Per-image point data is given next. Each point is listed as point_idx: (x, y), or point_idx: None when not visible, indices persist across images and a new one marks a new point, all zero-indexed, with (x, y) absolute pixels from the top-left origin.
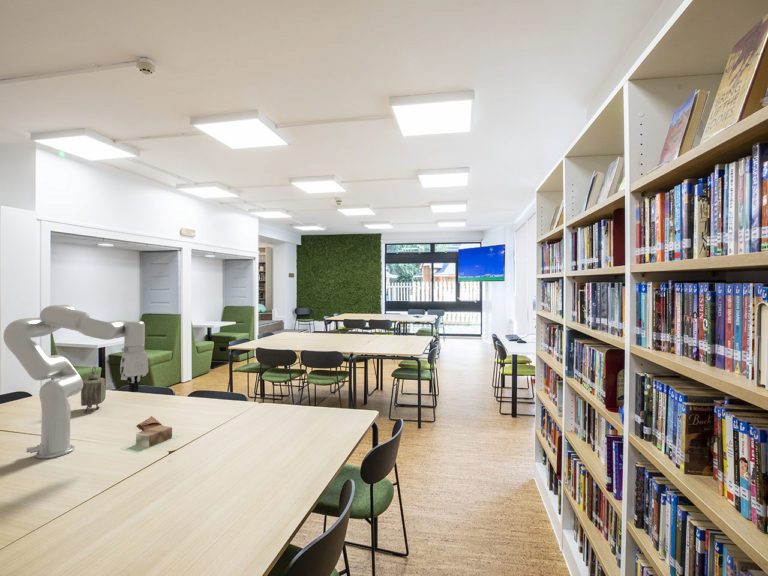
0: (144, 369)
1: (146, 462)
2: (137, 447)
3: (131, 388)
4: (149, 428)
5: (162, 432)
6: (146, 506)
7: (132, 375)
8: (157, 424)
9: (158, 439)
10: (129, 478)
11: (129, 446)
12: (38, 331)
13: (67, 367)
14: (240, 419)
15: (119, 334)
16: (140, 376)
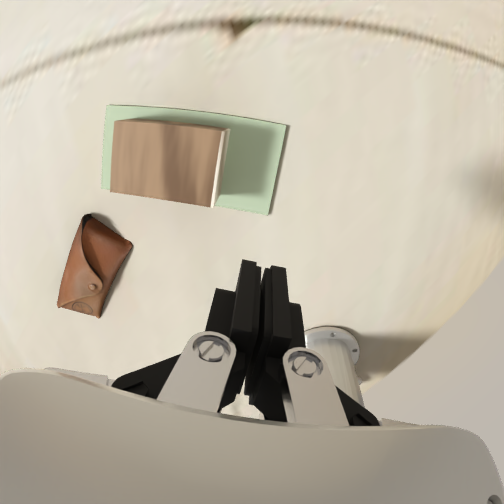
0: (49, 485)
1: (340, 46)
2: (243, 165)
3: (301, 314)
4: (109, 251)
5: (160, 123)
6: None
7: (417, 439)
8: (85, 241)
9: (184, 123)
10: (436, 33)
11: (243, 200)
12: None
13: None
14: None
15: None
16: (162, 392)
